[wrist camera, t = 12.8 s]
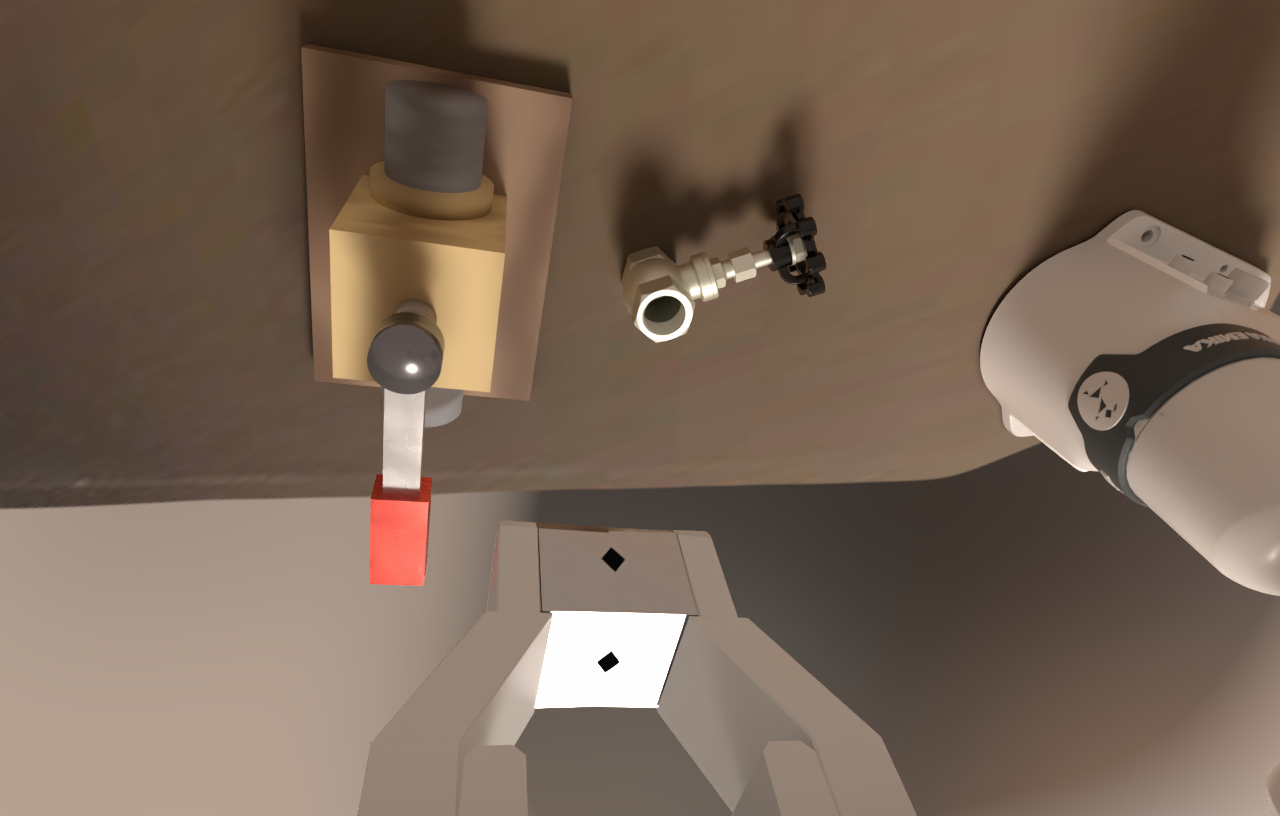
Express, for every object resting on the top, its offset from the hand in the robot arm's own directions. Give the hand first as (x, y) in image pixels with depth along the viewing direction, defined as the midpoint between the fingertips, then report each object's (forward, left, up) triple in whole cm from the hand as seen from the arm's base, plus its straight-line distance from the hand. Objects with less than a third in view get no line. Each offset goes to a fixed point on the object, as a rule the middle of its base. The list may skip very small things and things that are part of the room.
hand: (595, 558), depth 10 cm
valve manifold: (+5, +10, -37) cm, 39 cm away
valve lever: (+5, +16, -24) cm, 29 cm away
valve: (-12, +8, -38) cm, 40 cm away
